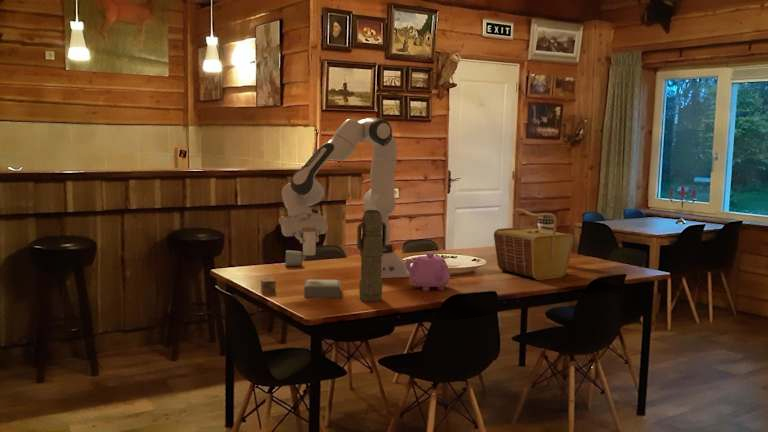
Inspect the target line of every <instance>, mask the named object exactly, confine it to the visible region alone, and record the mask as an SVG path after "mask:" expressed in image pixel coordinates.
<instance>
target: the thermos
mask: <svg viewBox="0 0 768 432" xmlns="http://www.w3.org/2000/svg"><path fill="white" fill-rule="evenodd" d="M361 219H362V222H361V223H359V224H358V226H357V228H356V229H357V231H356V234H357V235H356V238H357V239H356V240H357V241H356V242H357V243H356V247H357V249H358V250H359V251H360V252H359V253H360V259H361V260H360V262H361V263H360V264H361V265H360V267H361V268H360V281H359V285H358V287H359V289H358V290H359V291H358V292H359V301H361V302H365V303H378V302H380V301H381V302H382V299H383V298H382V295H383V281H382V278H381V258H382V256H383V250H384V248H386V224H385V223H384V222H382V217H381V214H380V212H379V211H377V210H367V211H364V212H363V216H362V218H361ZM382 226H383V227H382ZM381 231H382V234H381Z"/></svg>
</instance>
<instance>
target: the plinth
mask: <svg viewBox="0 0 768 432" xmlns="http://www.w3.org/2000/svg"><path fill="white" fill-rule="evenodd" d="M303 287H304V288H303V290H304V291H303V297H304V298H335V299H336V298H339V299H340V298H341V280H340V279H339V280H338V279H306V280H305V283H304V286H303Z"/></svg>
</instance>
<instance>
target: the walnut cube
mask: <svg viewBox="0 0 768 432" xmlns="http://www.w3.org/2000/svg"><path fill="white" fill-rule="evenodd" d="M276 285H277V283H276V279H275V278H263V279H262V278H261V279H260V288H261V289H260V292H261V293H262V294H263V295H264V293H267V294H276V292H277V291H276V290H277V289H276V287H277V286H276Z"/></svg>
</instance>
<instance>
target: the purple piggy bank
mask: <svg viewBox="0 0 768 432" xmlns="http://www.w3.org/2000/svg"><path fill="white" fill-rule="evenodd" d="M425 254H426V255H421V256H417V257H415V259H408V260H407V259H406V260H405V265H406V270H408V271H409V273H410V274H409V277H408V278H409V280H410V282H411V284H413V285H414V287H415V288H422V289H421V291H423V292H429V291H430V288H437V290H440V291H444V290H445V287H444V286H447V285H448V284H449V283H450V280H451V272H450V269H449V266H448V264H447V262H446V260H445V258H444V257H442V256H437V255H435V253H434V252H426V253H425ZM411 264H412V265H411Z"/></svg>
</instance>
